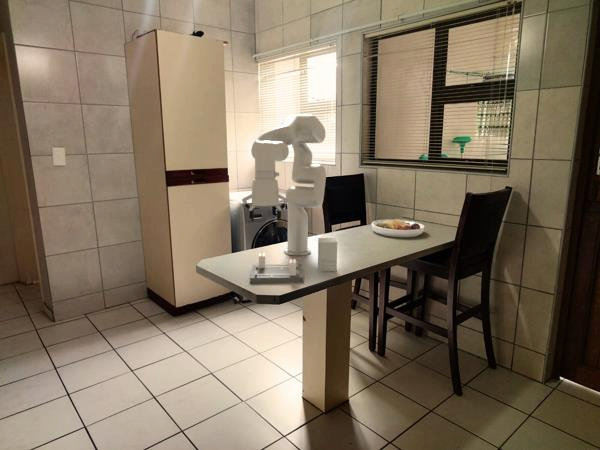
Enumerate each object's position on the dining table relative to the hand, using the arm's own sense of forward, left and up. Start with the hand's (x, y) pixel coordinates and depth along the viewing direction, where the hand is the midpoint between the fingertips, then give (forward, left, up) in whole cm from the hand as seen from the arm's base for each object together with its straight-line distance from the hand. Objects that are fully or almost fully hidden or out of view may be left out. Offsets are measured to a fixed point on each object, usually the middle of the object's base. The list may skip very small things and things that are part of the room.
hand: (265, 220), depth 153 cm
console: (-2, +4, -23) cm, 23 cm away
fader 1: (-6, -2, -20) cm, 21 cm away
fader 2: (+3, +10, -20) cm, 23 cm away
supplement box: (-10, +25, -23) cm, 35 cm away
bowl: (-76, +75, -23) cm, 109 cm away
